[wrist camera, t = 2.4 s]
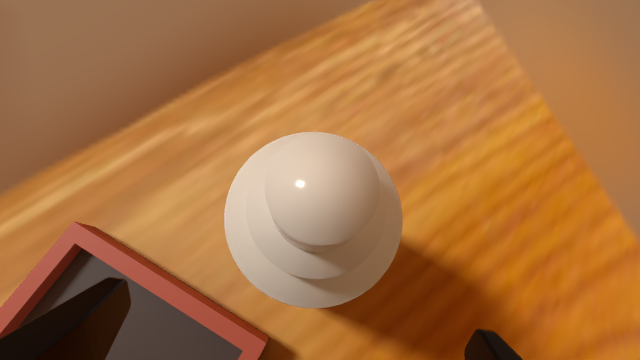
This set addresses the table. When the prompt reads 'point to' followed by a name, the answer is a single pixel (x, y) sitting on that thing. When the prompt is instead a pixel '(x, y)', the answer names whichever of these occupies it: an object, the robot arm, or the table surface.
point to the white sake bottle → (313, 220)
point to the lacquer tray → (133, 303)
